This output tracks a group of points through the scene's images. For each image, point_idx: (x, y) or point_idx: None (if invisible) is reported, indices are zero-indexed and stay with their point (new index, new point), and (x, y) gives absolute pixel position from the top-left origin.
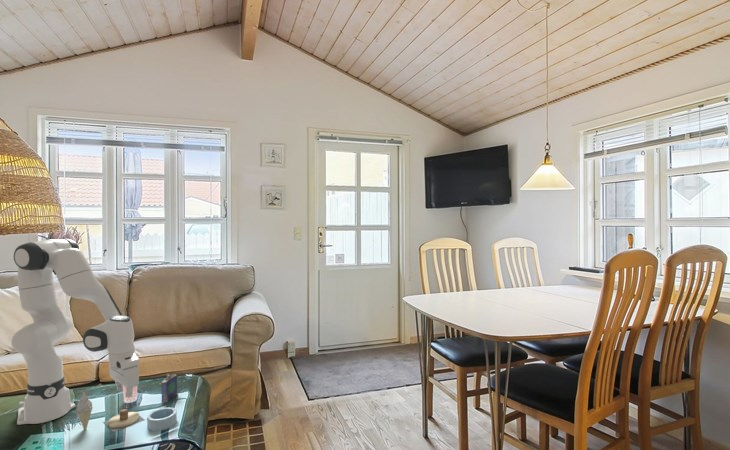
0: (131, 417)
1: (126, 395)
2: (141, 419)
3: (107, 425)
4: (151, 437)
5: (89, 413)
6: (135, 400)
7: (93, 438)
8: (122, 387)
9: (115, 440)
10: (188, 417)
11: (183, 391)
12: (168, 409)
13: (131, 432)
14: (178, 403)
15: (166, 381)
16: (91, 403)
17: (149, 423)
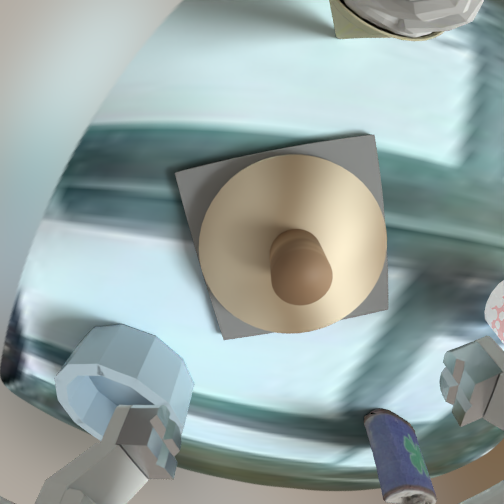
0: (275, 293)
1: (134, 415)
2: (240, 327)
3: (299, 149)
4: (50, 316)
5: (344, 15)
6: (489, 324)
7: (188, 65)
8: (453, 403)
9: (88, 178)
10: None
11: None
12: None
13: (130, 259)
14: (311, 446)
15: (390, 501)
16: (410, 11)
17: (83, 350)
